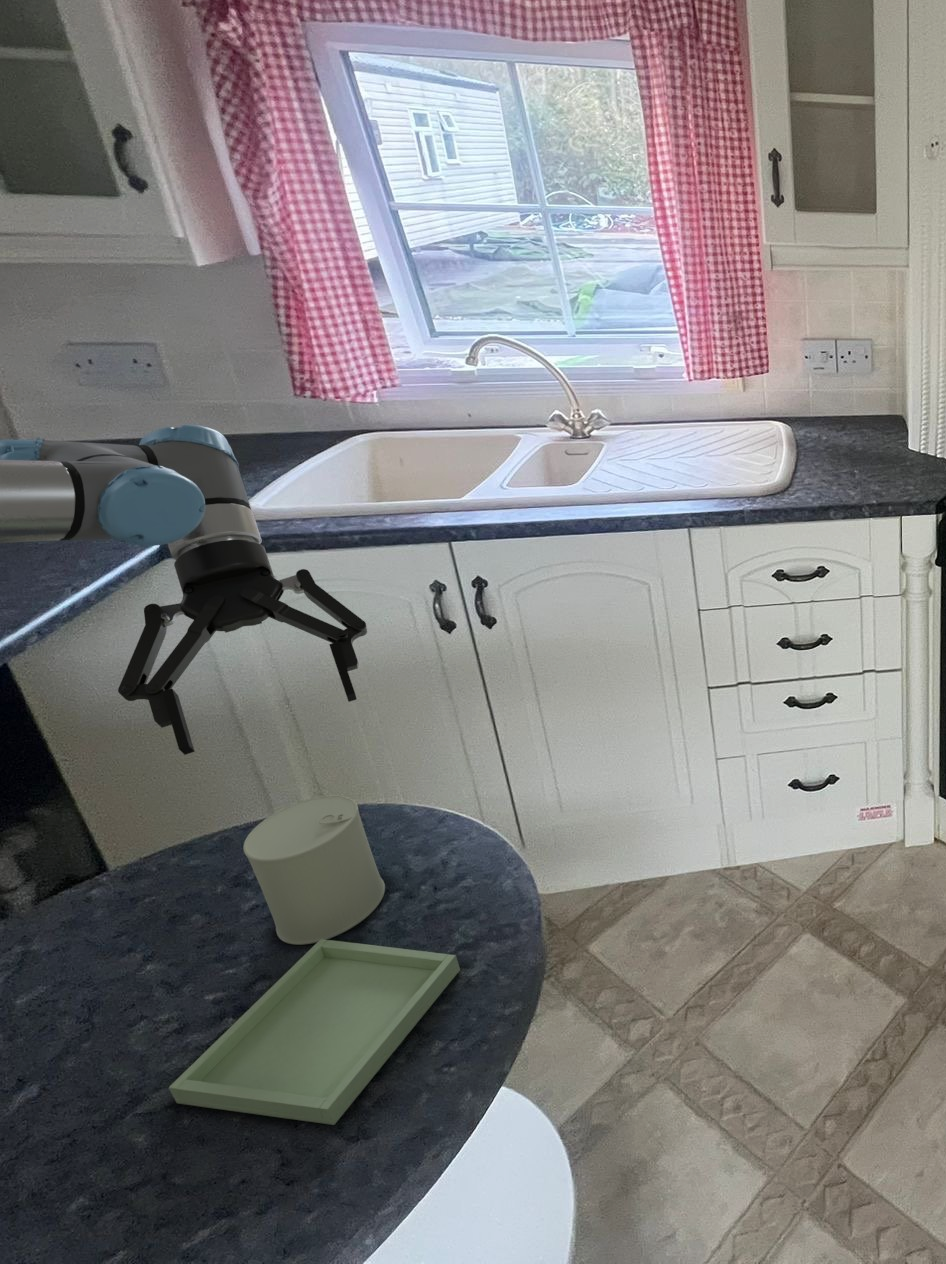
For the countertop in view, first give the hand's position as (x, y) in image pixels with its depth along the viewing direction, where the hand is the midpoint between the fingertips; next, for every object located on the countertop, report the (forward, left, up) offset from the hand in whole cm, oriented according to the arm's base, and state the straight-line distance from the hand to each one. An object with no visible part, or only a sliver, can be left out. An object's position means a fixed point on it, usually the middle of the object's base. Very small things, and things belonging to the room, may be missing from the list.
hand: (273, 723), depth 89 cm
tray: (+27, -7, -18) cm, 33 cm away
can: (+11, -2, -18) cm, 21 cm away
